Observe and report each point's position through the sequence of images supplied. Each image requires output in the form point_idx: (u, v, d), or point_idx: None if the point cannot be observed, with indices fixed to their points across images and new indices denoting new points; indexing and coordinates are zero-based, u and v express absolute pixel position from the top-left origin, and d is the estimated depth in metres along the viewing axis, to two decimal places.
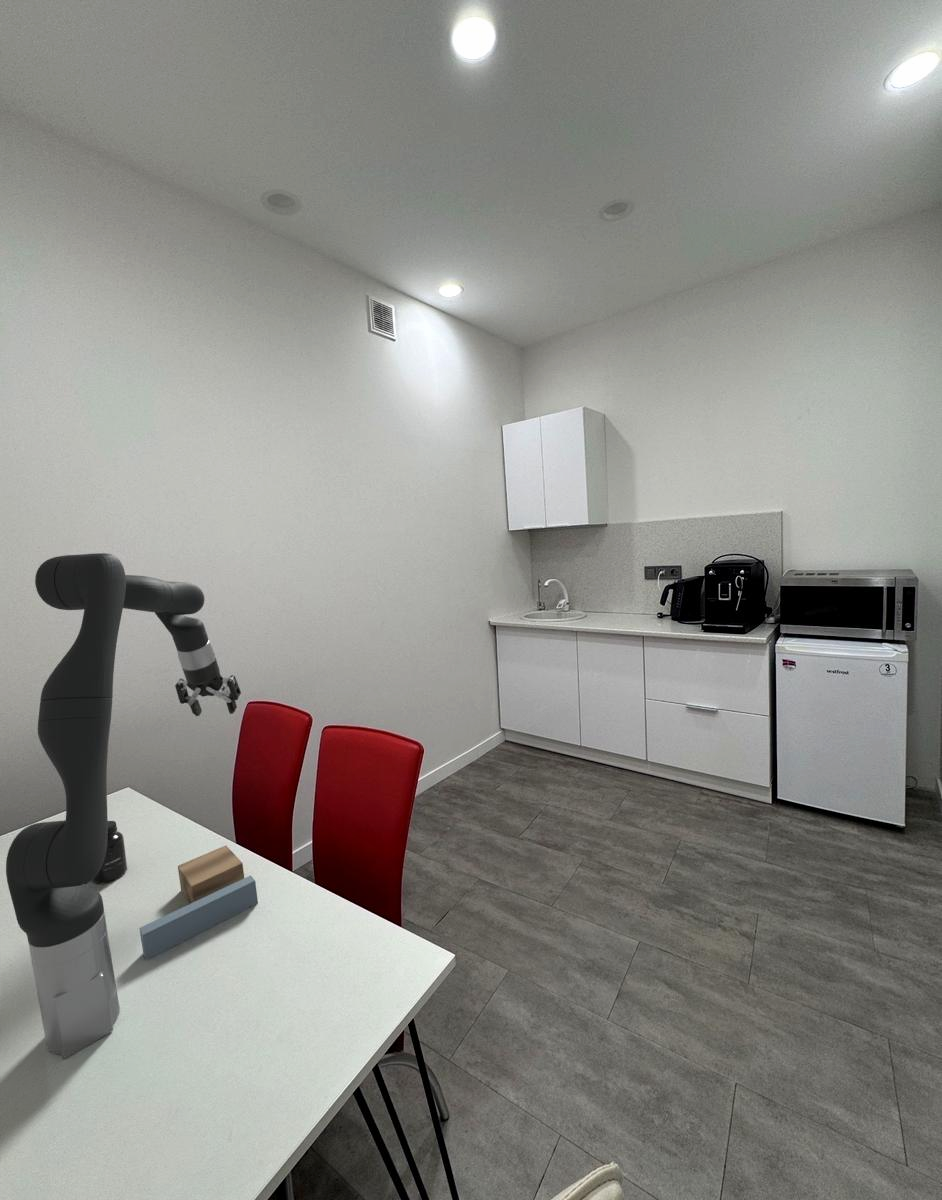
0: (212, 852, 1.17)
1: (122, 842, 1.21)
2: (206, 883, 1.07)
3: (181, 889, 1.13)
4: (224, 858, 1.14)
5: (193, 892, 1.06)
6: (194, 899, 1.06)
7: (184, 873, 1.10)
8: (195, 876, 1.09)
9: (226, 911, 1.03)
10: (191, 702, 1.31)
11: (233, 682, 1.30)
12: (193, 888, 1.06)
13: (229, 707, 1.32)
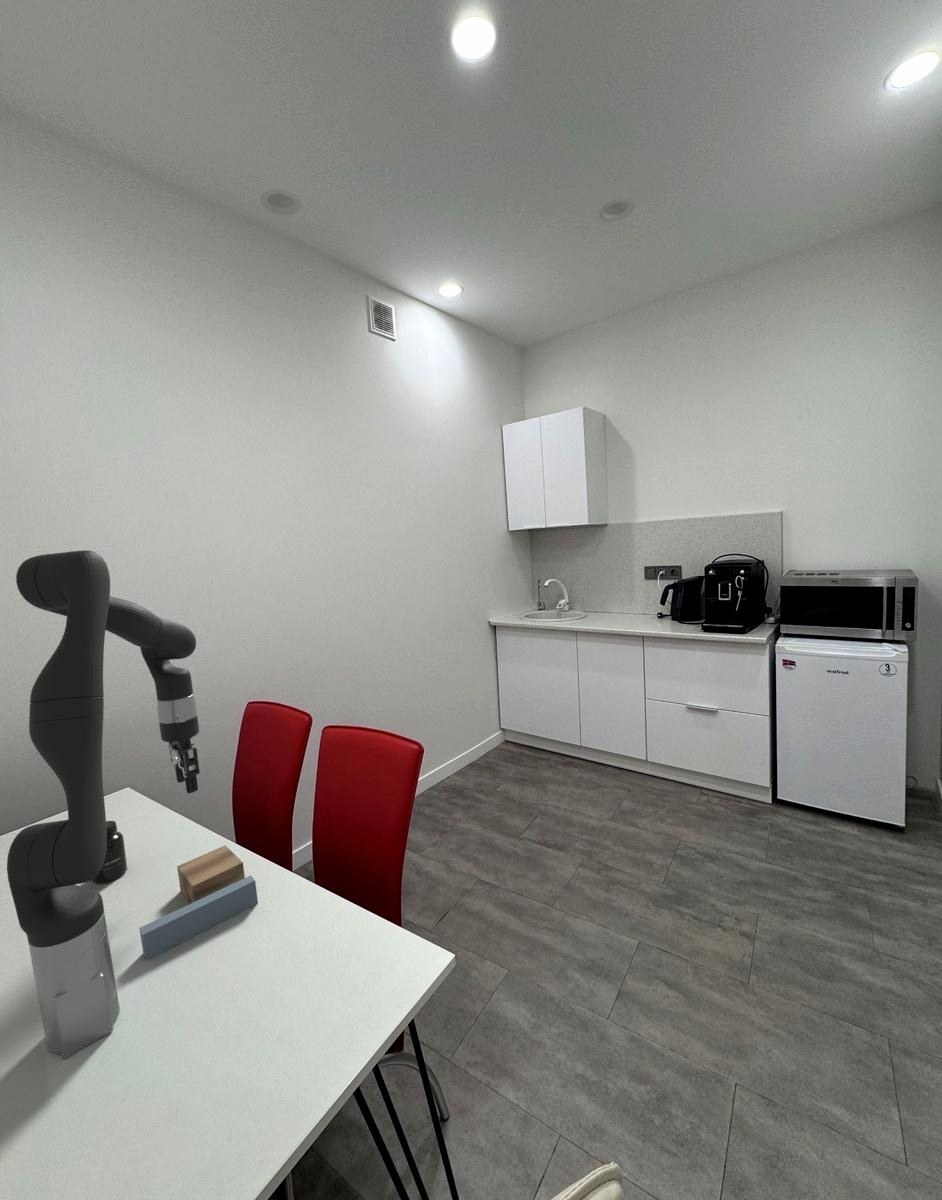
0: (211, 852, 1.17)
1: (122, 842, 1.21)
2: (207, 883, 1.07)
3: (181, 889, 1.13)
4: (224, 858, 1.14)
5: (194, 892, 1.06)
6: (195, 899, 1.06)
7: (184, 873, 1.10)
8: (195, 876, 1.09)
9: (226, 911, 1.03)
10: (174, 763, 1.20)
11: (188, 755, 1.12)
12: (194, 888, 1.06)
13: (185, 783, 1.15)
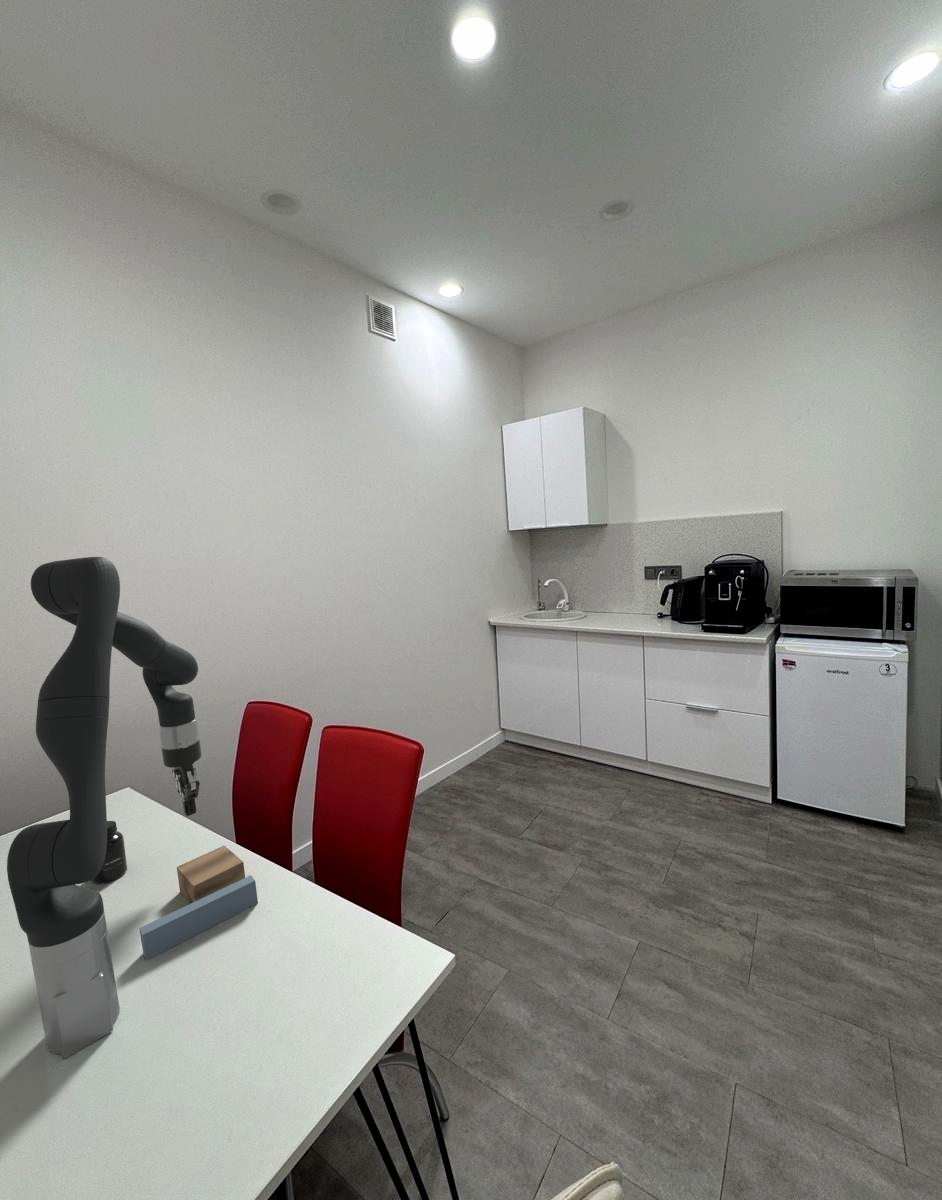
0: (210, 853, 1.17)
1: (122, 842, 1.21)
2: (208, 882, 1.07)
3: (180, 890, 1.13)
4: (223, 857, 1.15)
5: (195, 892, 1.06)
6: (196, 899, 1.06)
7: (184, 874, 1.10)
8: (196, 876, 1.09)
9: (226, 911, 1.03)
10: (181, 795, 1.19)
11: (191, 789, 1.14)
12: (195, 888, 1.06)
13: (184, 806, 1.18)
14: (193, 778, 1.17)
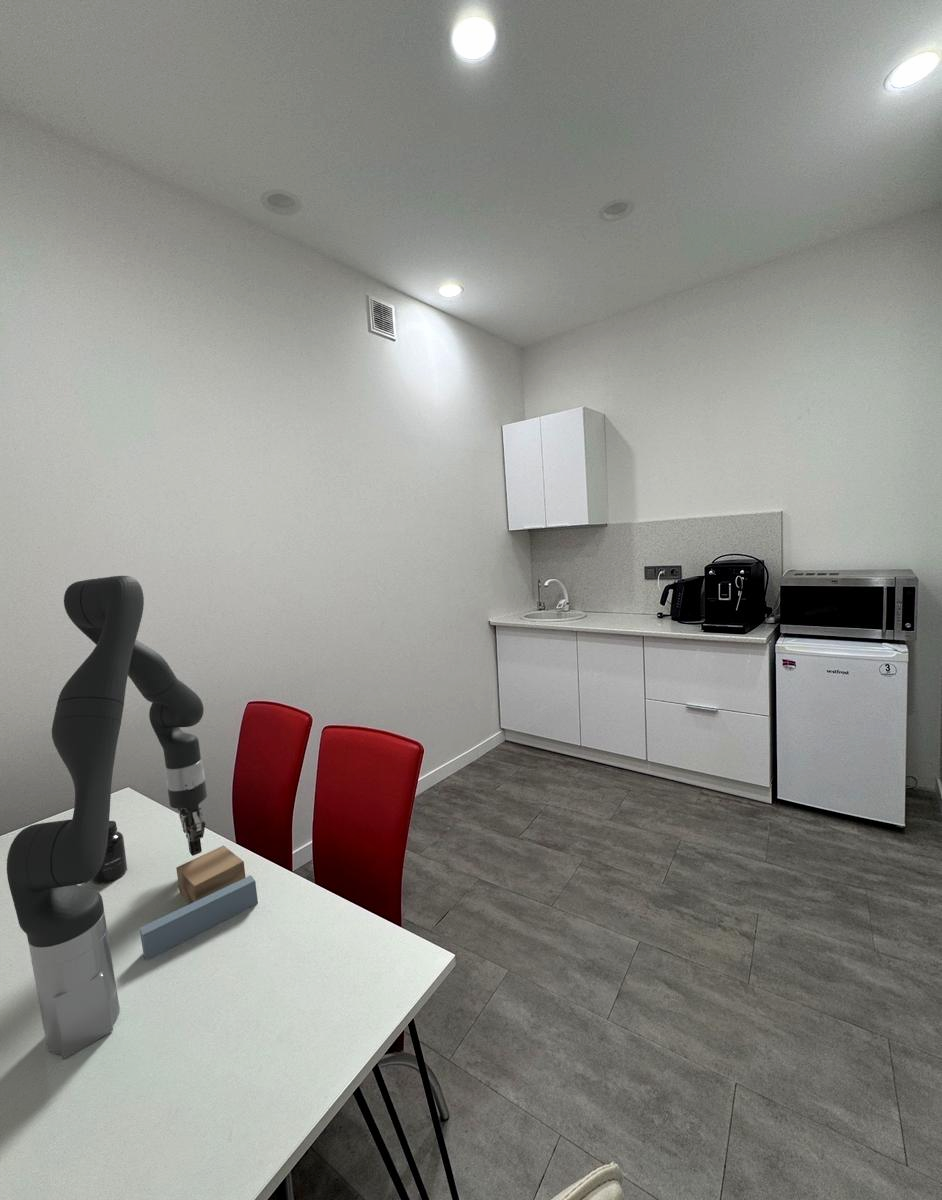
0: (210, 853, 1.17)
1: (122, 842, 1.21)
2: (208, 882, 1.07)
3: (180, 891, 1.12)
4: (223, 857, 1.15)
5: (196, 892, 1.06)
6: (197, 899, 1.06)
7: (184, 874, 1.10)
8: (196, 876, 1.09)
9: (226, 911, 1.03)
10: (186, 835, 1.20)
11: (196, 830, 1.15)
12: (196, 888, 1.06)
13: (190, 846, 1.19)
14: (199, 818, 1.18)
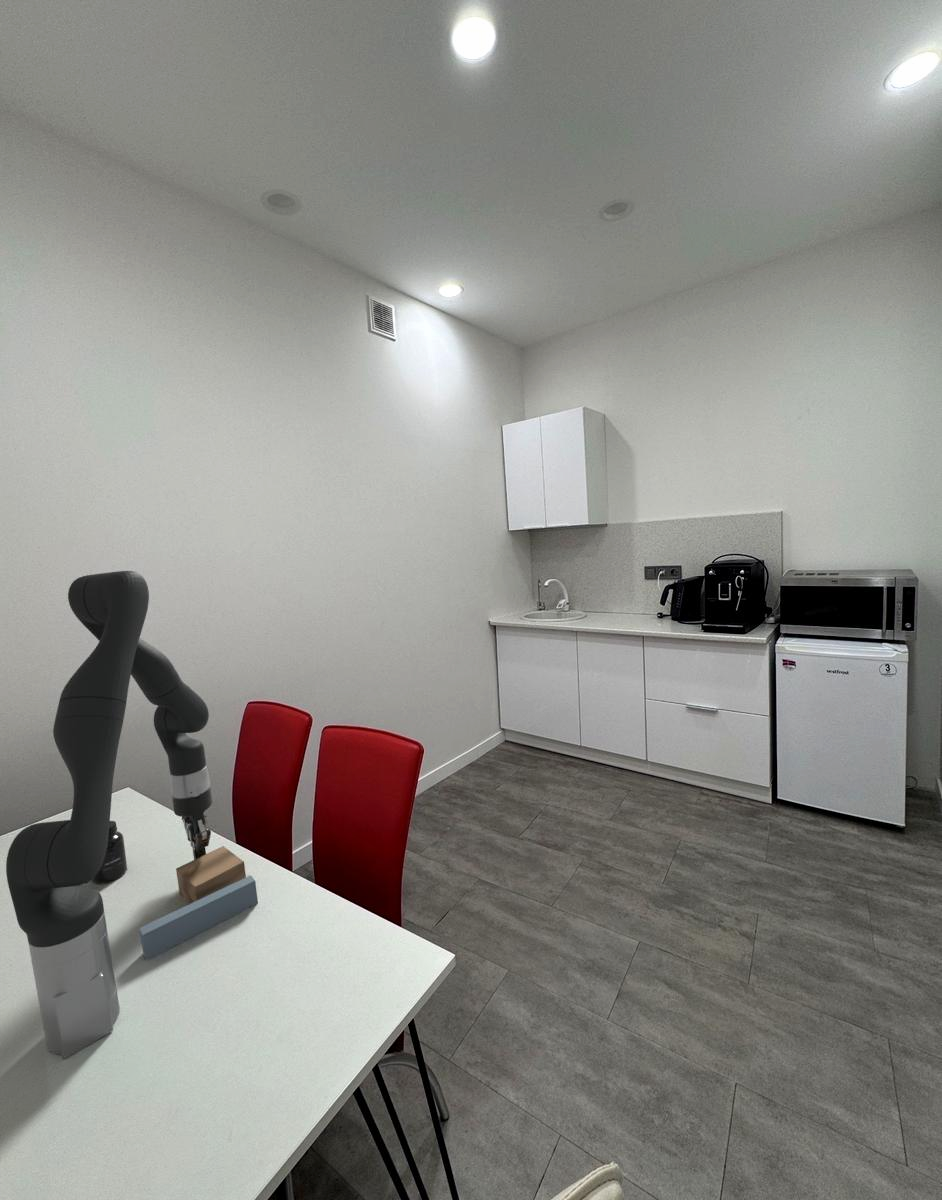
0: (210, 854, 1.16)
1: (122, 842, 1.21)
2: (209, 883, 1.07)
3: (180, 892, 1.12)
4: (223, 858, 1.14)
5: (197, 892, 1.06)
6: (198, 899, 1.06)
7: (184, 875, 1.09)
8: (197, 877, 1.08)
9: (226, 911, 1.03)
10: (191, 844, 1.17)
11: (202, 838, 1.12)
12: (197, 888, 1.05)
13: (194, 855, 1.16)
14: (204, 826, 1.15)
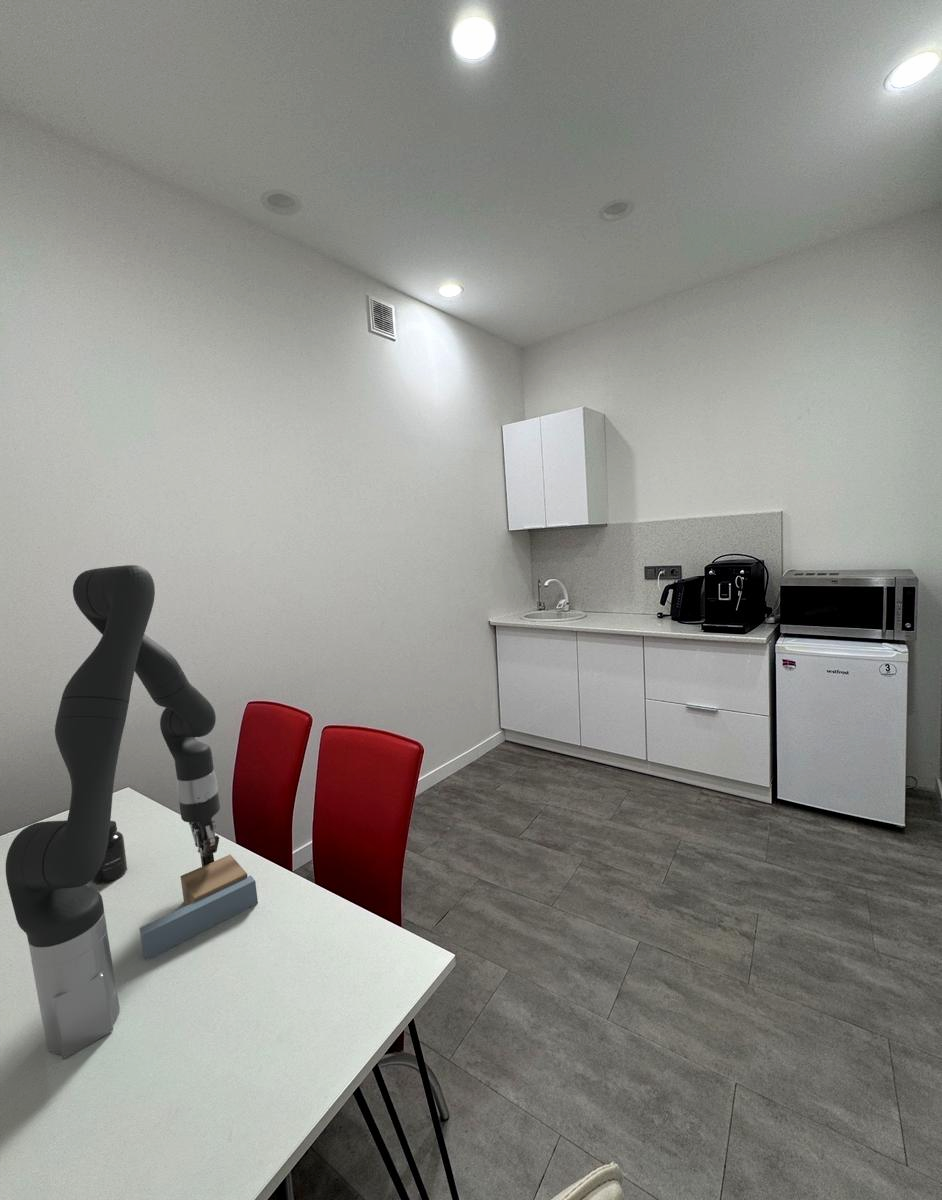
0: (216, 862, 1.13)
1: (122, 842, 1.21)
2: (209, 894, 1.04)
3: (184, 900, 1.09)
4: (228, 868, 1.11)
5: None
6: None
7: (187, 884, 1.06)
8: (198, 887, 1.05)
9: (226, 911, 1.03)
10: (199, 849, 1.14)
11: (210, 845, 1.09)
12: (196, 900, 1.02)
13: (202, 861, 1.13)
14: (212, 832, 1.12)
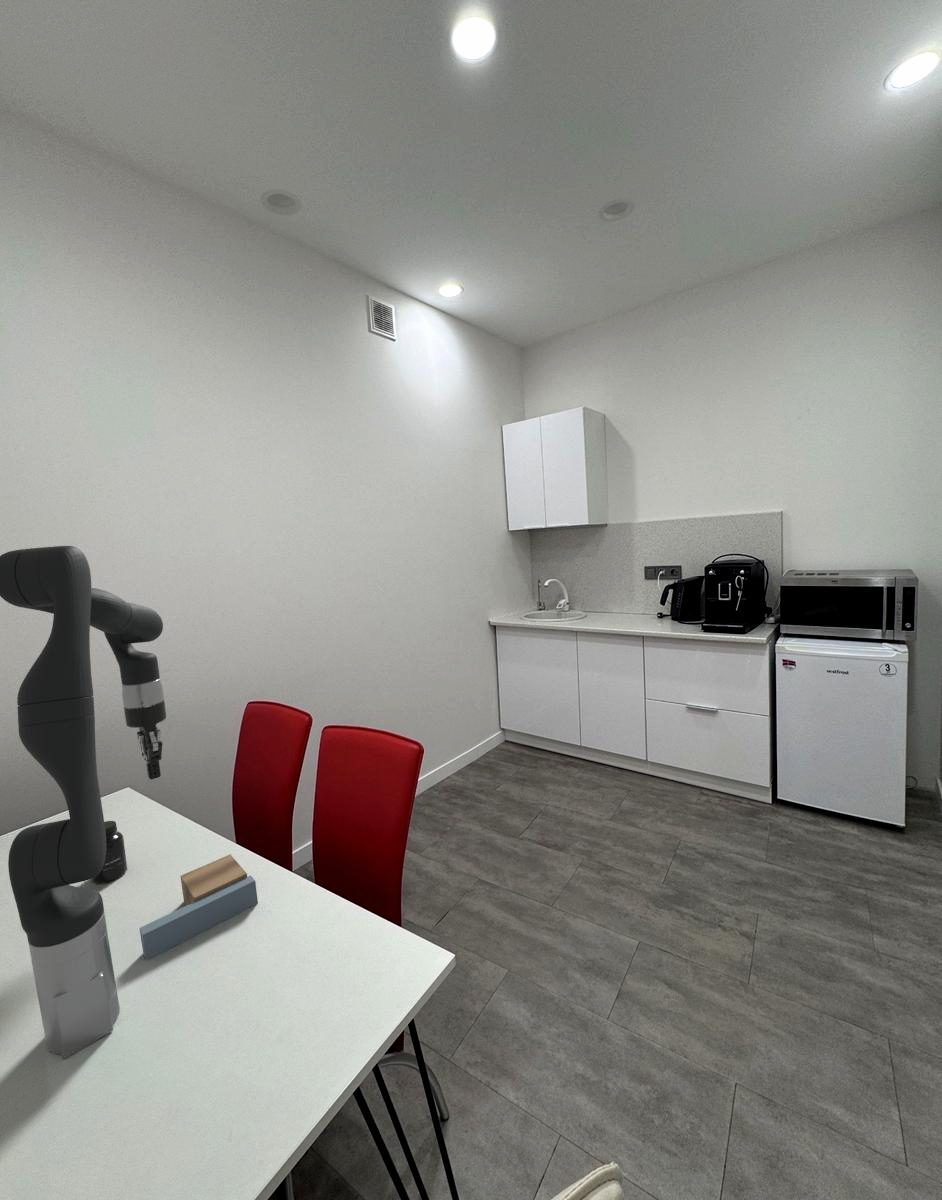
0: (216, 862, 1.13)
1: (122, 842, 1.21)
2: (209, 894, 1.04)
3: (184, 900, 1.09)
4: (228, 868, 1.11)
5: None
6: None
7: (187, 884, 1.06)
8: (198, 887, 1.05)
9: (226, 911, 1.03)
10: (145, 758, 1.15)
11: (153, 749, 1.11)
12: (196, 900, 1.02)
13: (148, 769, 1.15)
14: (156, 739, 1.13)
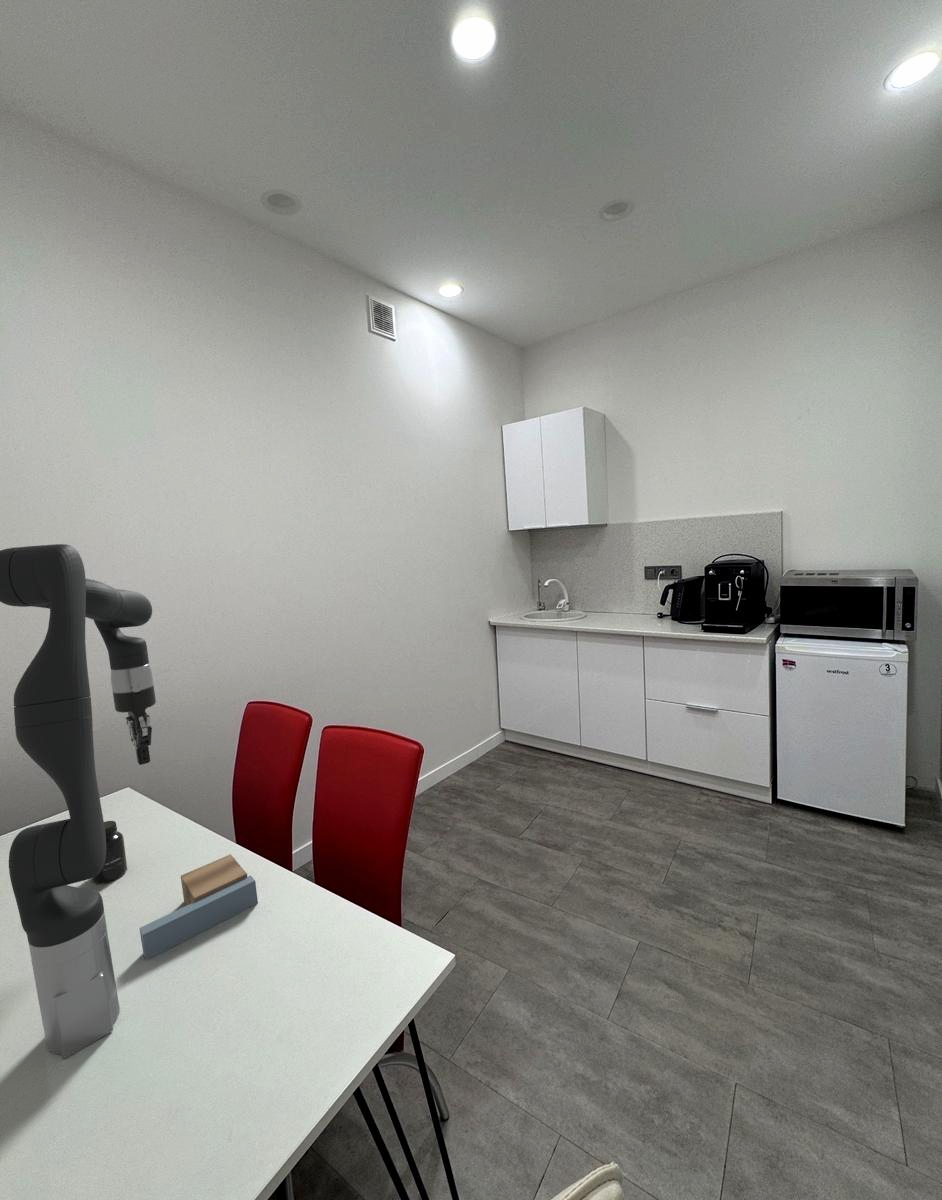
0: (216, 862, 1.13)
1: (122, 842, 1.21)
2: (209, 894, 1.04)
3: (184, 900, 1.09)
4: (228, 868, 1.11)
5: None
6: None
7: (187, 884, 1.06)
8: (198, 887, 1.05)
9: (226, 911, 1.03)
10: (134, 743, 1.14)
11: (142, 734, 1.10)
12: (196, 900, 1.02)
13: (137, 755, 1.14)
14: (146, 724, 1.13)
